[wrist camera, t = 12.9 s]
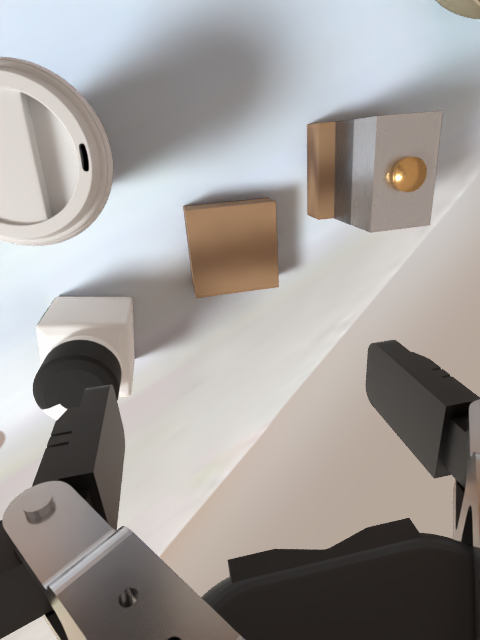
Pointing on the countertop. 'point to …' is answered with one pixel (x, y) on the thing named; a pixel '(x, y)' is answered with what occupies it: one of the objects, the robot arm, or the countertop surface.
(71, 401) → the medicine bottle
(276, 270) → the stand
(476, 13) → the beige round bowl
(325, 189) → the stand
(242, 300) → the countertop surface
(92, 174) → the coffee cup
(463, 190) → the countertop surface
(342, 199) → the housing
